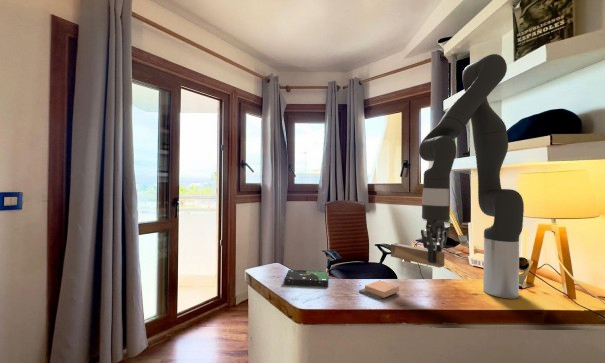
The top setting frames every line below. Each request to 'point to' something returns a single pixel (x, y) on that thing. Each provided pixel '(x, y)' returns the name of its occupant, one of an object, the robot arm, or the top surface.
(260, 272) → the top surface
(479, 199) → the robot arm
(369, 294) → the mat
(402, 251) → the block
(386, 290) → the tile
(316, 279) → the disk drive
